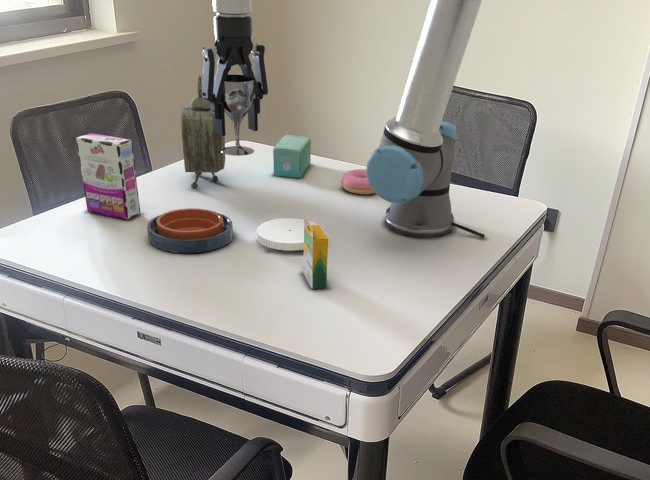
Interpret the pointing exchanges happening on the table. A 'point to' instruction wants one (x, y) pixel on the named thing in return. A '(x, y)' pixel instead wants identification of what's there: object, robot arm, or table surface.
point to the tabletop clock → (201, 138)
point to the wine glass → (237, 108)
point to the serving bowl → (190, 244)
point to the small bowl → (189, 224)
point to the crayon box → (315, 255)
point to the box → (291, 156)
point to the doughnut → (356, 182)
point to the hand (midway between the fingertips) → (237, 131)
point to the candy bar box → (108, 175)
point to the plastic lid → (282, 234)
